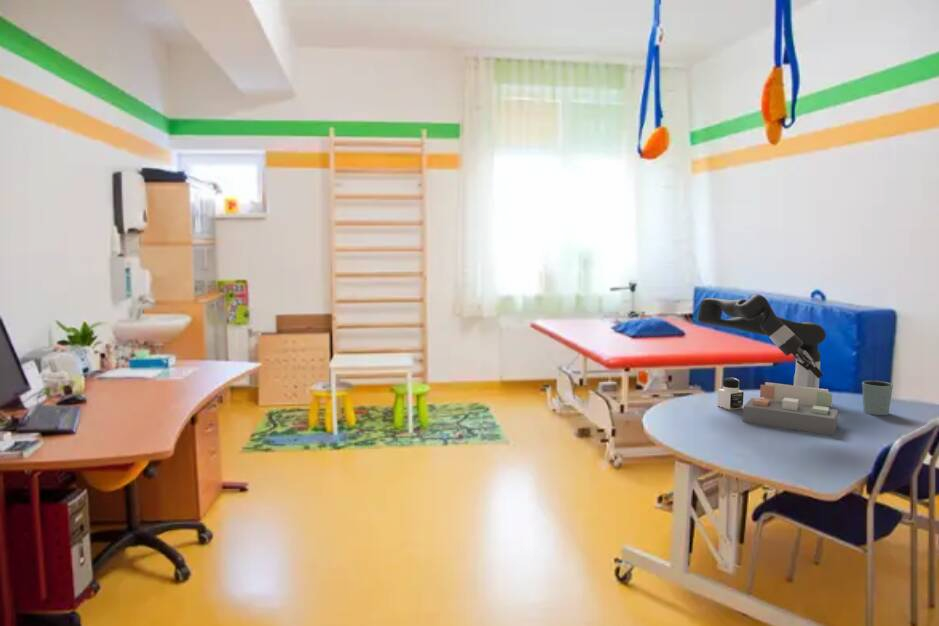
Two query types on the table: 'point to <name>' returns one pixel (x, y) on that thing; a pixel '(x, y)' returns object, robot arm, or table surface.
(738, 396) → the medicine bottle
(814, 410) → the sage key
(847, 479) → the table surface
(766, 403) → the terracotta key
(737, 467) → the table surface
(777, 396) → the key console
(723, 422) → the table surface
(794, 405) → the cream small block
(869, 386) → the green cup
